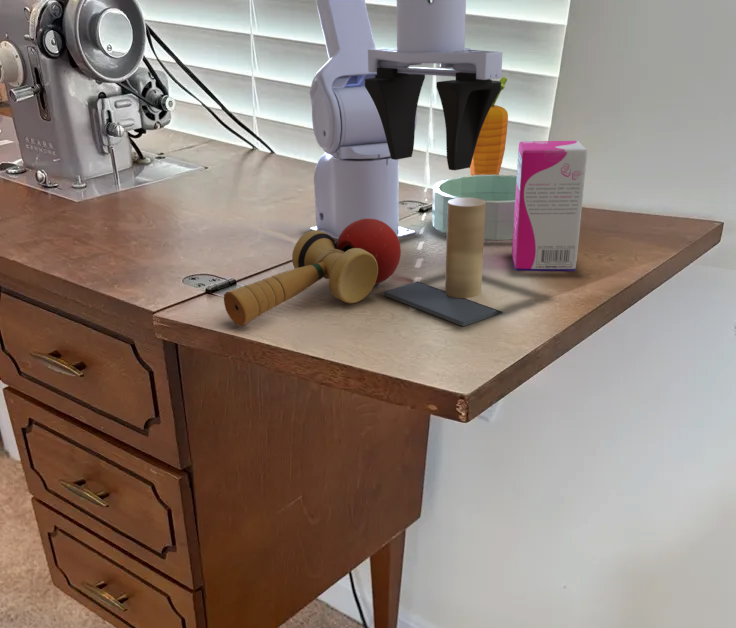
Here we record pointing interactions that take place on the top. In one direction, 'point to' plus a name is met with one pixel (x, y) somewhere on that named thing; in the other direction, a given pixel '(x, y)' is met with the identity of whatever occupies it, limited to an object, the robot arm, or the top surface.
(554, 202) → the supplement box
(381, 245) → the kendama
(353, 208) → the robot arm
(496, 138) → the carrot
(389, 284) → the top surface
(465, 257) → the birch peg
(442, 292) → the felt mat
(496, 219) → the bowl
